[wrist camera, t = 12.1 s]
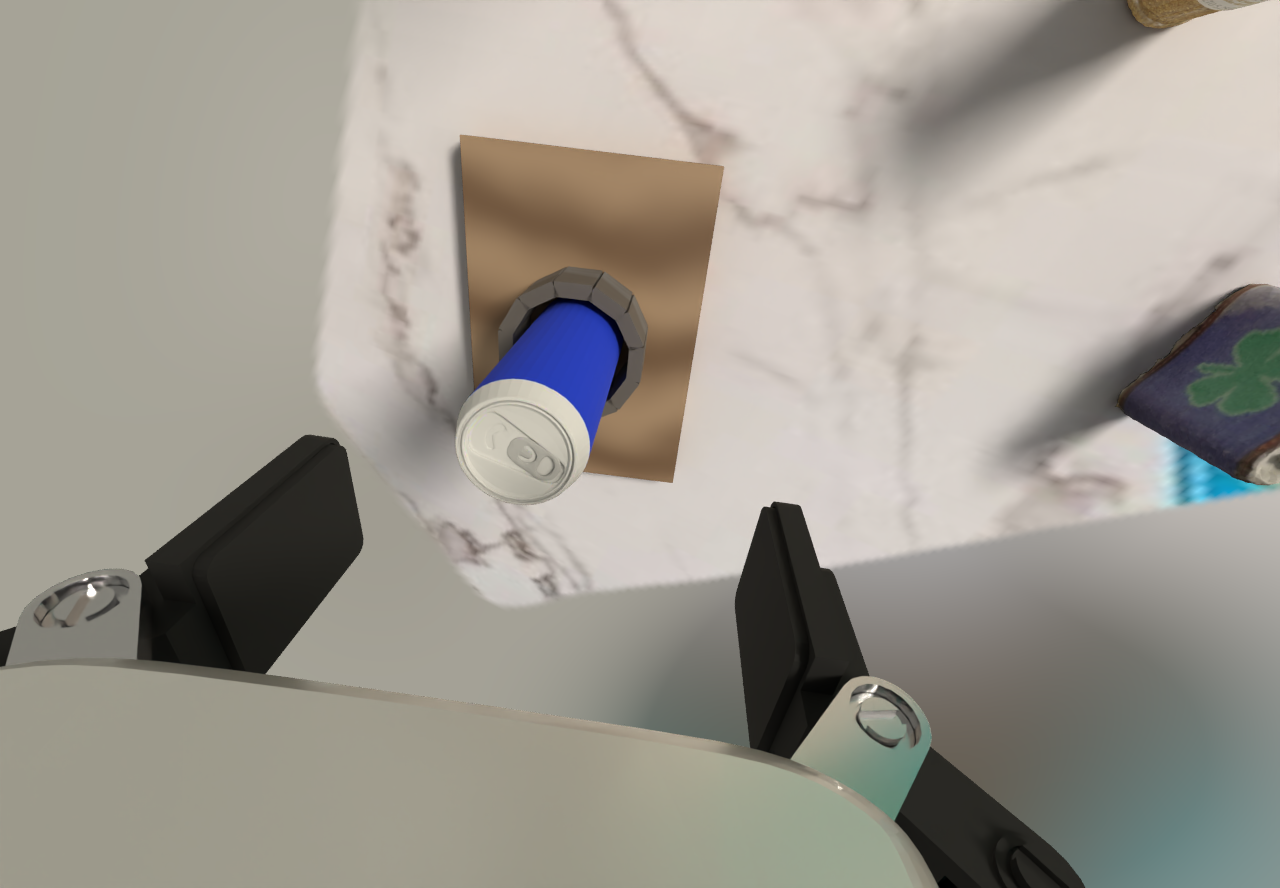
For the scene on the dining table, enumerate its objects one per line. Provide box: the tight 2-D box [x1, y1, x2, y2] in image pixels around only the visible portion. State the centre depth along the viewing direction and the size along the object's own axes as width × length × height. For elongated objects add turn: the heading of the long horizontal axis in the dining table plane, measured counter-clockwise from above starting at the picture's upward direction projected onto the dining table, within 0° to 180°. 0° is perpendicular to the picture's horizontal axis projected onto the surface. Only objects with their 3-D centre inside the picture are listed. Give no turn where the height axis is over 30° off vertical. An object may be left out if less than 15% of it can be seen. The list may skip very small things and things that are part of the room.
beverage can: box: [455, 297, 623, 505], centre depth 26 cm, size 5×5×15 cm
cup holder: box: [460, 135, 724, 483], centre depth 31 cm, size 20×14×6 cm
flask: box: [1115, 284, 1280, 485], centre depth 27 cm, size 9×3×11 cm, turn 151°
